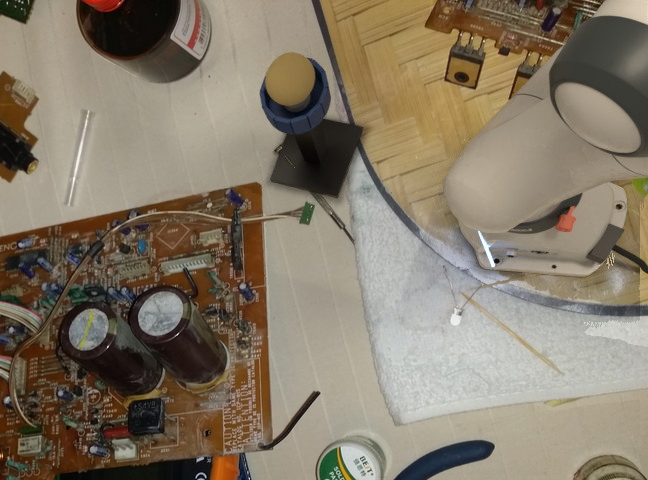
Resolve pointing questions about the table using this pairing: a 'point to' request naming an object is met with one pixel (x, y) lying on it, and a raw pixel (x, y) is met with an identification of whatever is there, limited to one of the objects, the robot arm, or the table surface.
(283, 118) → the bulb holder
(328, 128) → the stand
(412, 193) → the table surface
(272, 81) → the light bulb
